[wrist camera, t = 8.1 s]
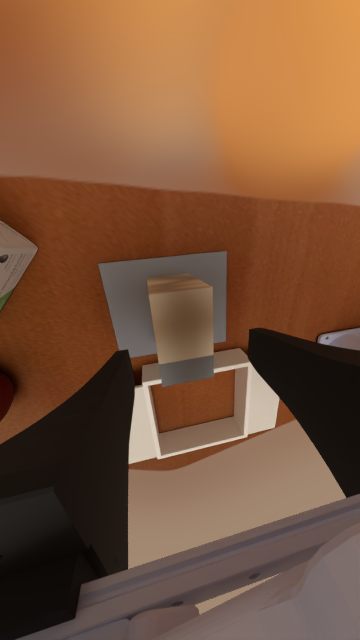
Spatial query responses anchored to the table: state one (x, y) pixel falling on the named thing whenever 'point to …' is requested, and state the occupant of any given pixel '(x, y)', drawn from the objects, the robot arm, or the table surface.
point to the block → (182, 327)
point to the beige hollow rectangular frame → (249, 417)
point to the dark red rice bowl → (5, 394)
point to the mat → (133, 298)
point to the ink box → (13, 259)
